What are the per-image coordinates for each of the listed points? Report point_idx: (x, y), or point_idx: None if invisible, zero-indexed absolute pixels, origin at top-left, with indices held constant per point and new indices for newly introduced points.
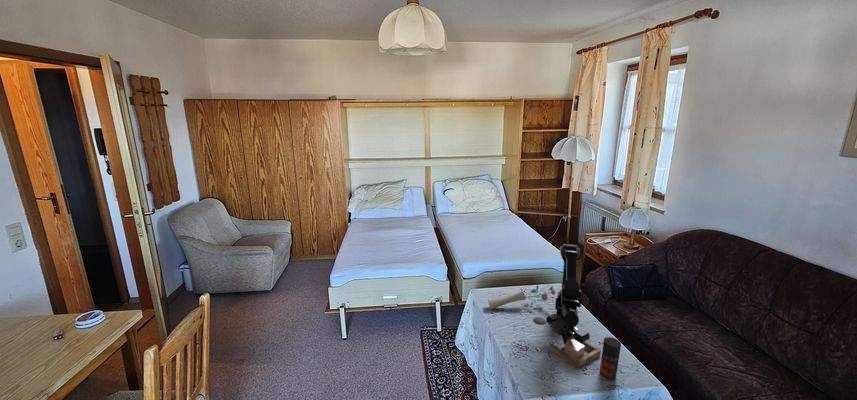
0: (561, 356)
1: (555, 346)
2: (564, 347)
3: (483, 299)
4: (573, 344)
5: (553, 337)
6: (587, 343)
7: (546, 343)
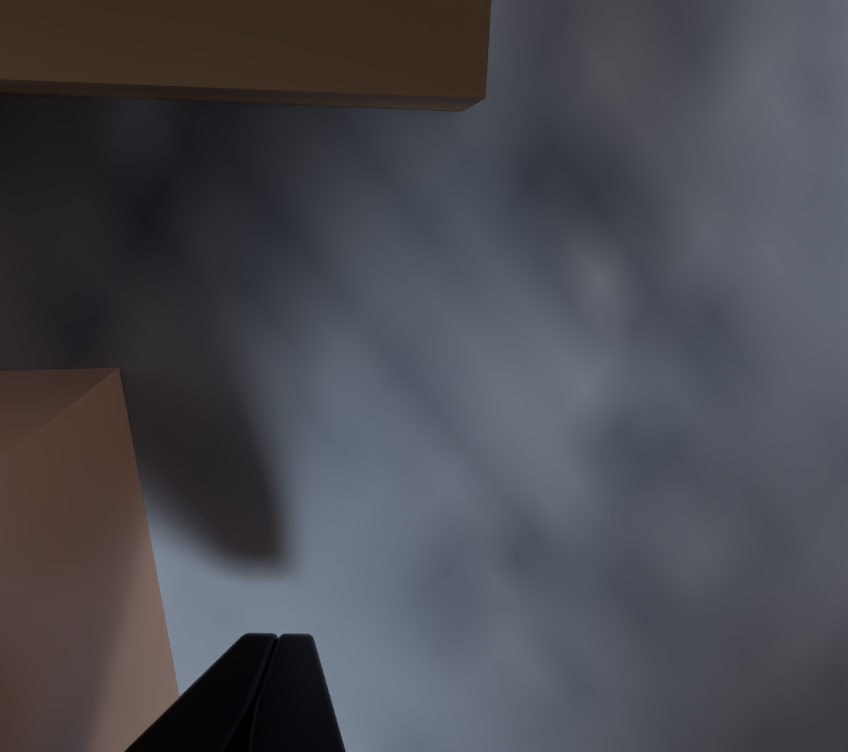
0: None
1: (203, 31)
2: (27, 435)
3: None
4: None
5: (775, 650)
6: None
7: (777, 204)
